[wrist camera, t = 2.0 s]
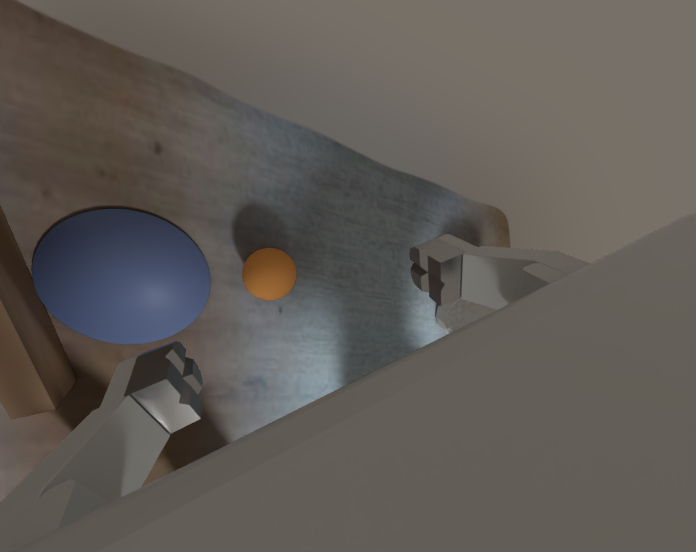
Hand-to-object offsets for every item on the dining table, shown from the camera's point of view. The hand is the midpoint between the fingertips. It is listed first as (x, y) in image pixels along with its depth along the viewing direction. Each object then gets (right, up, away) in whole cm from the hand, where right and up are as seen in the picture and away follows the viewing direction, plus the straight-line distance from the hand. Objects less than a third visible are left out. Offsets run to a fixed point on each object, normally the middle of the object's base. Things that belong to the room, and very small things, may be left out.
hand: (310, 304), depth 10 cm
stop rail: (-28, -1, +15) cm, 32 cm away
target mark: (-20, +1, +18) cm, 27 cm away
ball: (-7, +1, +20) cm, 21 cm away
